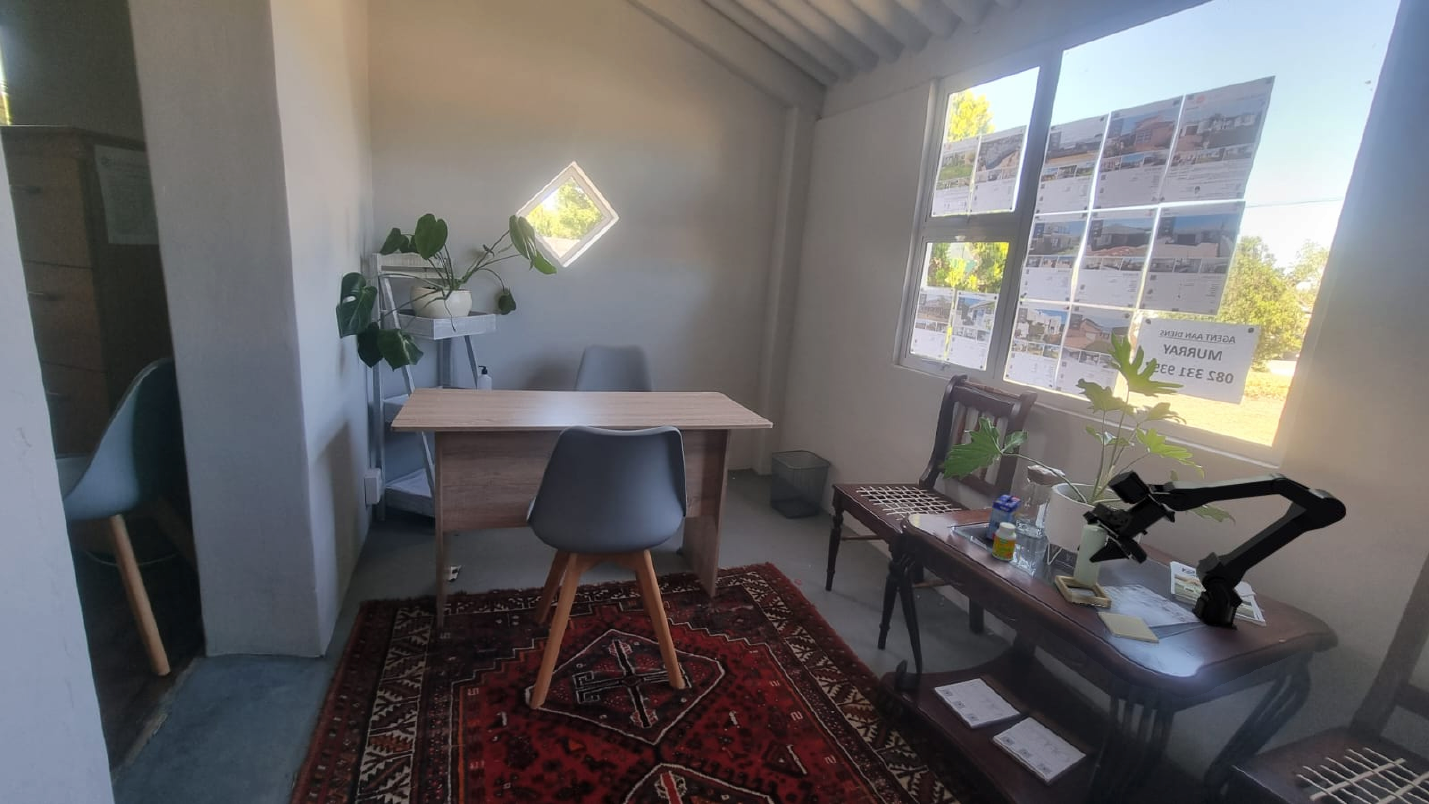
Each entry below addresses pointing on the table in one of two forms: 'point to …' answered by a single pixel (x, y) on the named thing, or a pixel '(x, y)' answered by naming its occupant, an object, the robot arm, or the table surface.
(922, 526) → the table surface
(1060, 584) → the birch collar
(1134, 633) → the cream square tile
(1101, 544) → the ceramic canister
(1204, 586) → the robot arm
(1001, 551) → the supplement bottle
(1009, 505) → the ink cartridge box
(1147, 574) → the table surface
